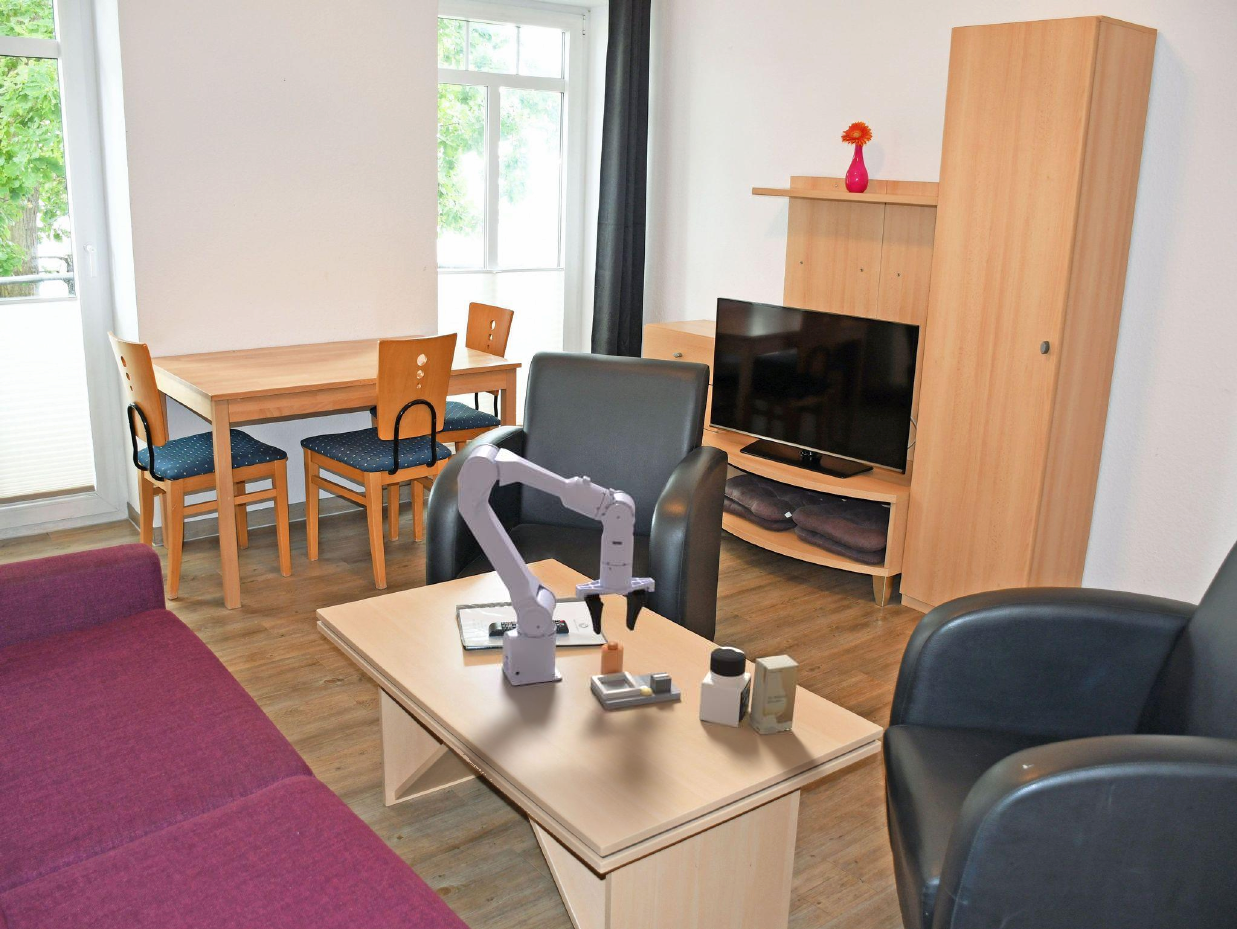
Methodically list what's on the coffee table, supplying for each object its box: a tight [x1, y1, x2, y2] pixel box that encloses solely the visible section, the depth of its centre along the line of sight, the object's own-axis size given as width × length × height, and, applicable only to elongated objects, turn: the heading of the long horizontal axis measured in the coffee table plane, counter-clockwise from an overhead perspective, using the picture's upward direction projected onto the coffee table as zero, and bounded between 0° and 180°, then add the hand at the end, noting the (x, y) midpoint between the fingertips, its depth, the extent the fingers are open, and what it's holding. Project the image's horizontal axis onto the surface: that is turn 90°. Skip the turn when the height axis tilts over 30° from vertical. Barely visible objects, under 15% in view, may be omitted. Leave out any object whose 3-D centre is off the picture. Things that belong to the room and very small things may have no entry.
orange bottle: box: [600, 641, 624, 675], centre depth 200 cm, size 4×4×7 cm
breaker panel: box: [590, 671, 681, 710], centre depth 195 cm, size 14×8×2 cm, turn 111°
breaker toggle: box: [650, 671, 672, 693], centre depth 194 cm, size 3×2×3 cm
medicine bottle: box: [698, 646, 752, 728], centre depth 187 cm, size 7×7×12 cm
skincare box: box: [749, 654, 800, 735], centre depth 184 cm, size 6×4×12 cm
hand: (613, 630), depth 198 cm, fingers open, 6 cm apart
